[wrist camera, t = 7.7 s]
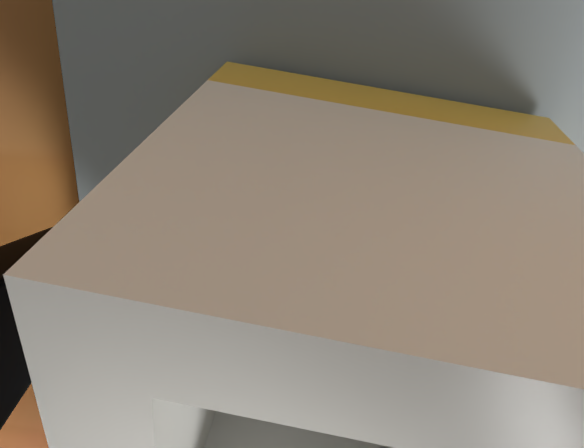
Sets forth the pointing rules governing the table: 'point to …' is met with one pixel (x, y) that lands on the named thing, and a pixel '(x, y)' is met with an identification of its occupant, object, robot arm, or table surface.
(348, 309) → the sleeve
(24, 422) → the table surface
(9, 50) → the table surface
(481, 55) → the board
